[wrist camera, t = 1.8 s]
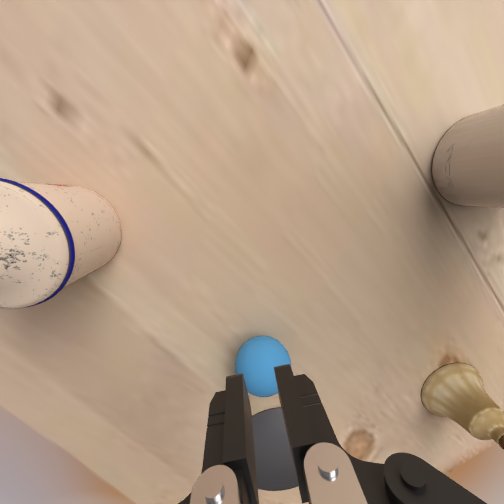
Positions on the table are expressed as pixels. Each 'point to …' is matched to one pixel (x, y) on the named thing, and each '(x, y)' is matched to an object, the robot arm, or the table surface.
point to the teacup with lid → (51, 239)
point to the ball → (261, 364)
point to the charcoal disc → (272, 452)
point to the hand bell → (464, 401)
